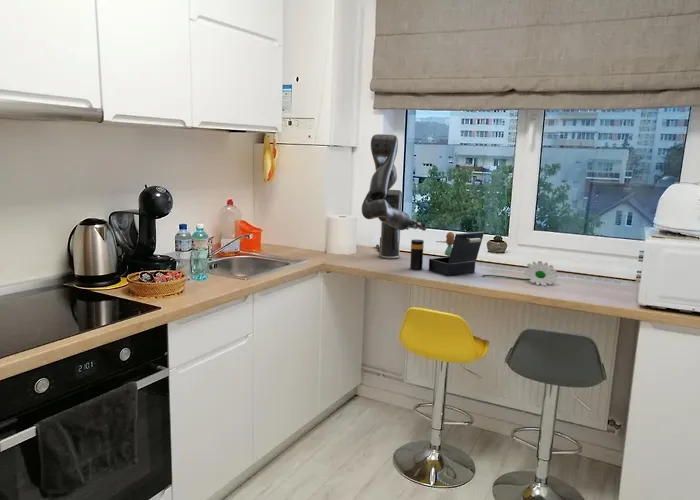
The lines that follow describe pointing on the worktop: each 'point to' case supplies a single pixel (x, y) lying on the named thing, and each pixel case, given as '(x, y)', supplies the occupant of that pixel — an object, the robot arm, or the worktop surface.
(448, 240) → the toy
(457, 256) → the lid
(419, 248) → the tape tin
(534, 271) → the flower
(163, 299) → the worktop surface
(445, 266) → the black box
